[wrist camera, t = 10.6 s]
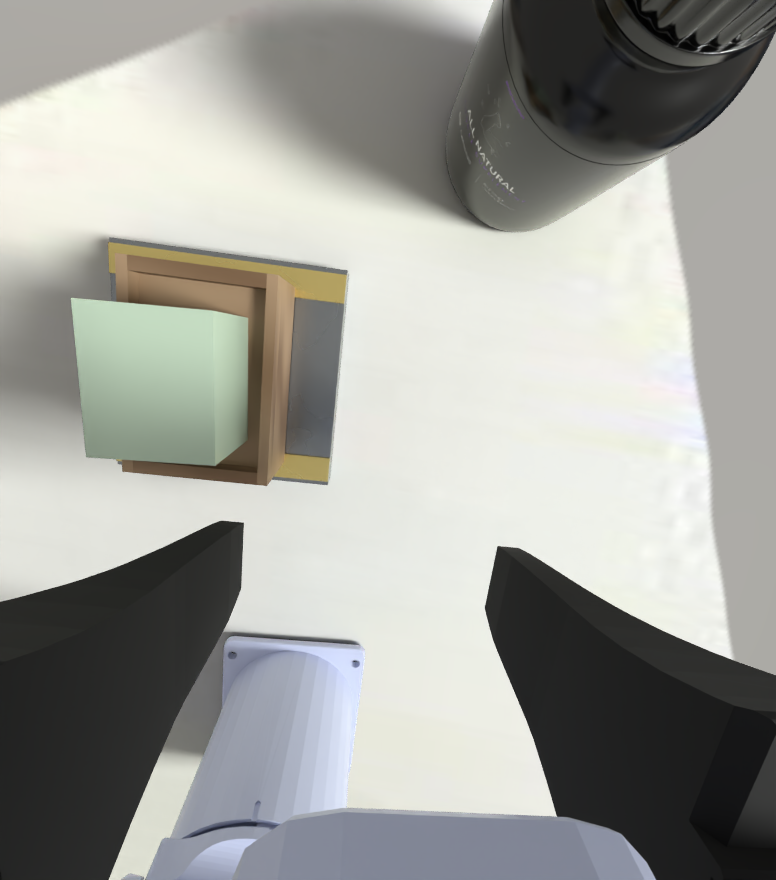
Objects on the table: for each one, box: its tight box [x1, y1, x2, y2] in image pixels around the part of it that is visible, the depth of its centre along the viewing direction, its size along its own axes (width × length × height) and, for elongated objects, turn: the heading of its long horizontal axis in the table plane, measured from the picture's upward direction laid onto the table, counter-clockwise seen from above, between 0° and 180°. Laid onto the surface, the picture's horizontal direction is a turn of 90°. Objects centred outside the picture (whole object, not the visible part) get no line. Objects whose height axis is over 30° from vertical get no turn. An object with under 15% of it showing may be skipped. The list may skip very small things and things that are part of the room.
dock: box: [108, 237, 349, 485], centre depth 19 cm, size 10×10×1 cm
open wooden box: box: [115, 253, 295, 486], centre depth 16 cm, size 8×6×3 cm
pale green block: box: [71, 298, 248, 466], centre depth 14 cm, size 5×4×4 cm
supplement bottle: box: [446, 0, 776, 232], centre depth 12 cm, size 7×7×12 cm
